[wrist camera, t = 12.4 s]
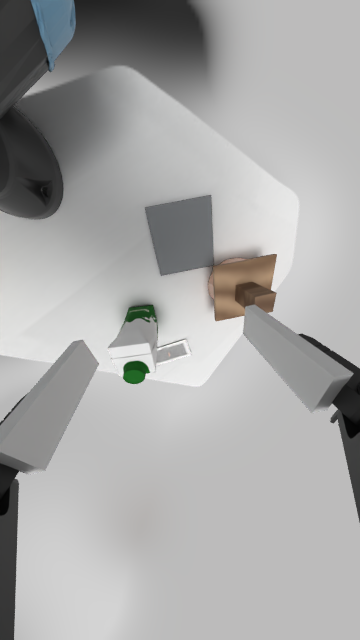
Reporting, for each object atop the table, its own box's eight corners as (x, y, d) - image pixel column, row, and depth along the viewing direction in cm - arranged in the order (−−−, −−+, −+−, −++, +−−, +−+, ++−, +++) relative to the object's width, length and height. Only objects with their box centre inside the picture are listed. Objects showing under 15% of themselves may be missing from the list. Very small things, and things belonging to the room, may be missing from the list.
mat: (145, 208, 30) (144, 207, 29) (209, 196, 30) (211, 194, 29) (160, 274, 37) (160, 275, 36) (212, 264, 37) (213, 265, 36)
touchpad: (191, 352, 53) (192, 357, 51) (153, 364, 53) (153, 368, 52) (185, 337, 49) (186, 341, 47) (145, 350, 49) (144, 354, 48)
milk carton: (132, 330, 44) (114, 388, 27) (124, 304, 40) (96, 354, 22) (160, 327, 45) (159, 381, 28) (155, 301, 40) (150, 347, 23)
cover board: (212, 266, 31) (229, 275, 23) (273, 254, 31) (311, 258, 23) (214, 319, 38) (228, 339, 30) (264, 309, 38) (290, 327, 30)
